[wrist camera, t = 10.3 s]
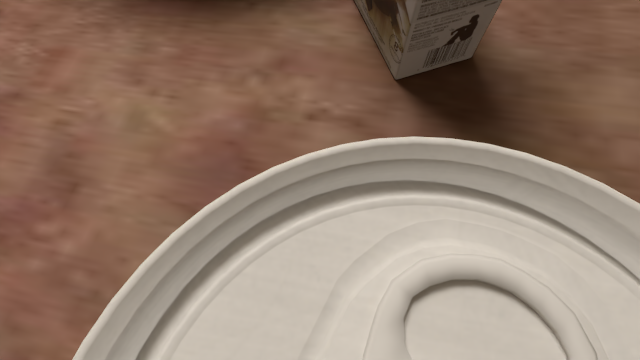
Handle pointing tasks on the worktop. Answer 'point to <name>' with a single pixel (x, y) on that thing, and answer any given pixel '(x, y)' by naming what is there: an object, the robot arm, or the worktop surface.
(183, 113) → the worktop surface
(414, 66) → the coffee box
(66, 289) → the worktop surface
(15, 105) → the worktop surface
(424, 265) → the beer can
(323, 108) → the worktop surface
